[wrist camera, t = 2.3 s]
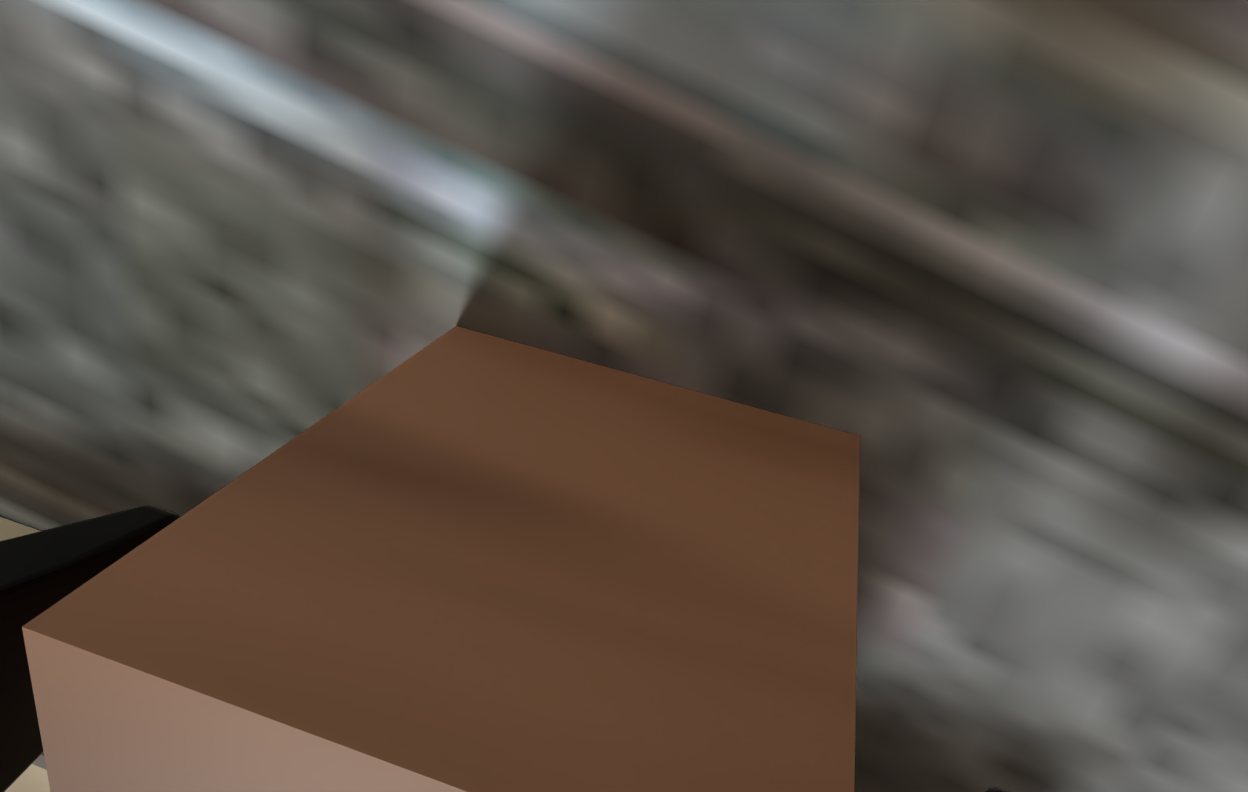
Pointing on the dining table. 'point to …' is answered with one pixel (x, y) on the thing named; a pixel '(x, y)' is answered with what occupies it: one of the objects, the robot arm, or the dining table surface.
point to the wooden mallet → (481, 600)
